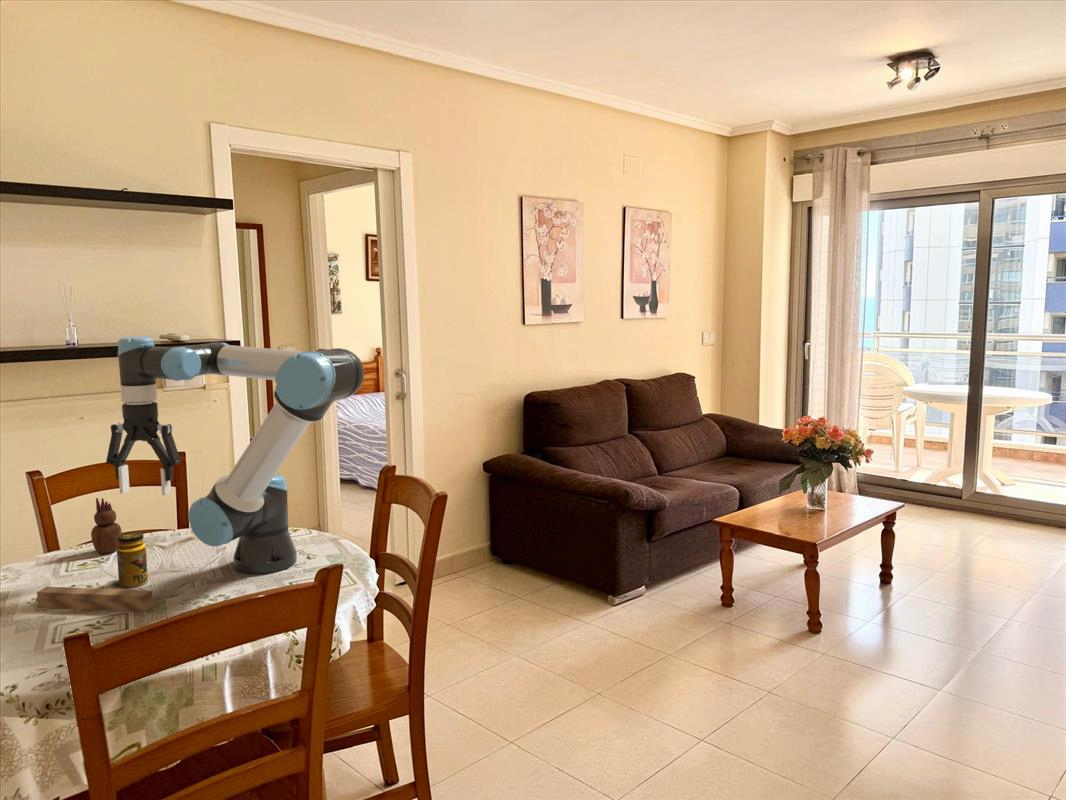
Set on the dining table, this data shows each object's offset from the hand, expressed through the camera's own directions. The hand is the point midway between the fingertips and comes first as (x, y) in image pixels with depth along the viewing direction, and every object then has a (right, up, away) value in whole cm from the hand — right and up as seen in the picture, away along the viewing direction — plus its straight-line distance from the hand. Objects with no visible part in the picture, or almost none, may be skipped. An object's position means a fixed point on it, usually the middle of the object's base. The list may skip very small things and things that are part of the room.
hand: (145, 492), depth 182 cm
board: (-2, -23, -18) cm, 29 cm away
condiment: (-1, -21, -6) cm, 22 cm away
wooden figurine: (-18, -18, +15) cm, 29 cm away
